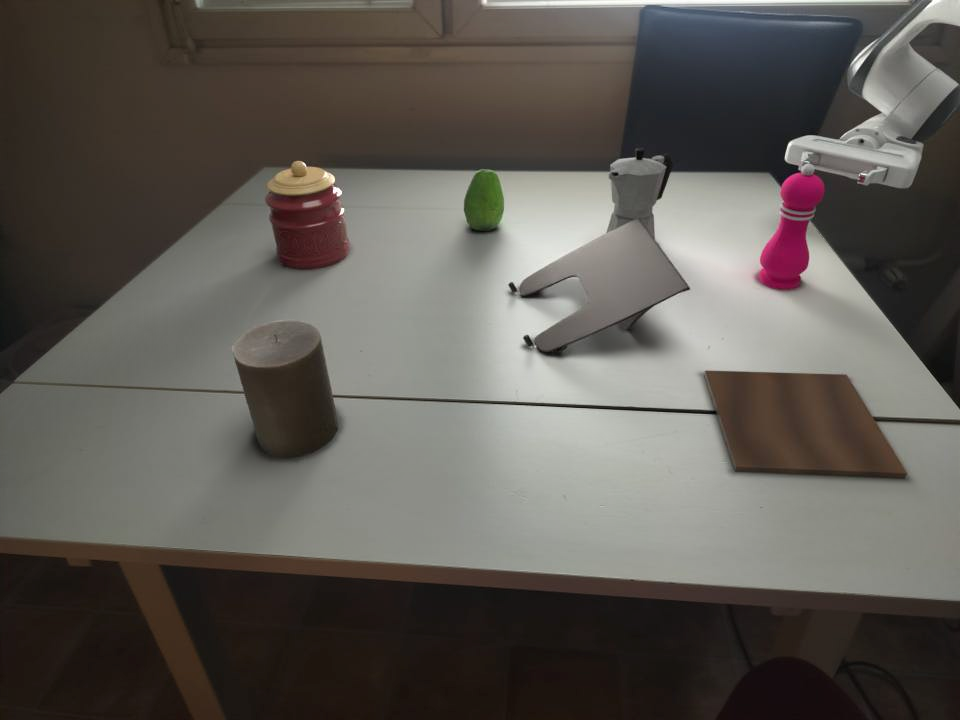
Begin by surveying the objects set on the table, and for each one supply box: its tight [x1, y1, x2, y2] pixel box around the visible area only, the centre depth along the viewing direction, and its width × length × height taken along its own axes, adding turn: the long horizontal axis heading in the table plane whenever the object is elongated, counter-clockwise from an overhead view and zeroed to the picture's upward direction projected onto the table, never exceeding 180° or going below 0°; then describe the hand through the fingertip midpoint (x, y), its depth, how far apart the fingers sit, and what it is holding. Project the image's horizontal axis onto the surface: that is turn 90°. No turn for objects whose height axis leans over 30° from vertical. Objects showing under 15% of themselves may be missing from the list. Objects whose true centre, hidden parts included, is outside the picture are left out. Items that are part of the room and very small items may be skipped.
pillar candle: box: [230, 318, 340, 459], centre depth 77 cm, size 10×10×15 cm
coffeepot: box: [605, 147, 674, 240], centre depth 117 cm, size 15×9×18 cm, turn 126°
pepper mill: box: [758, 164, 826, 291], centre depth 104 cm, size 7×7×20 cm
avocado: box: [463, 168, 505, 232], centre depth 126 cm, size 8×8×12 cm
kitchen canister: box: [264, 160, 351, 270], centre depth 117 cm, size 13×13×18 cm
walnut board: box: [703, 370, 908, 479], centre depth 80 cm, size 18×18×2 cm
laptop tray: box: [507, 218, 691, 355], centre depth 100 cm, size 23×23×9 cm
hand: (832, 172), depth 108 cm, fingers open, 8 cm apart
